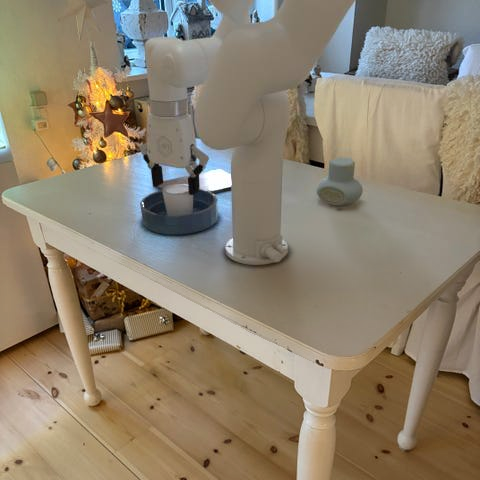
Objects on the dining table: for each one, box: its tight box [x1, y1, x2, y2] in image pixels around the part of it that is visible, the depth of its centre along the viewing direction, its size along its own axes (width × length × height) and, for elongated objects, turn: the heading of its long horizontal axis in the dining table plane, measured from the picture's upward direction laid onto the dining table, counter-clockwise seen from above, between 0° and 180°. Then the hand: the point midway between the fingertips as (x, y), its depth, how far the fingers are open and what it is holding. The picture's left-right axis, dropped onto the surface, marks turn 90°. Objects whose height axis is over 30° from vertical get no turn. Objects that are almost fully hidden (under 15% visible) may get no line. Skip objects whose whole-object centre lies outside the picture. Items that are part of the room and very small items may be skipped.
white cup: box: [162, 184, 193, 215], centre depth 111 cm, size 7×7×7 cm
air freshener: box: [316, 157, 364, 208], centre depth 117 cm, size 11×8×10 cm
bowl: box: [139, 189, 219, 235], centre depth 112 cm, size 17×17×4 cm
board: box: [156, 168, 231, 195], centre depth 131 cm, size 14×20×1 cm
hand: (175, 189), depth 109 cm, fingers open, 9 cm apart
